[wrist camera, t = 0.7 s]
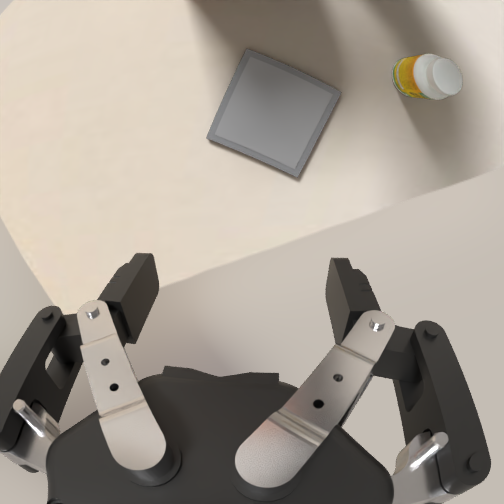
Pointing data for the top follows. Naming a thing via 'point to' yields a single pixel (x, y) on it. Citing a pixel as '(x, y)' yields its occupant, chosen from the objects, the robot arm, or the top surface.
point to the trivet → (273, 112)
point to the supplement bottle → (427, 77)
